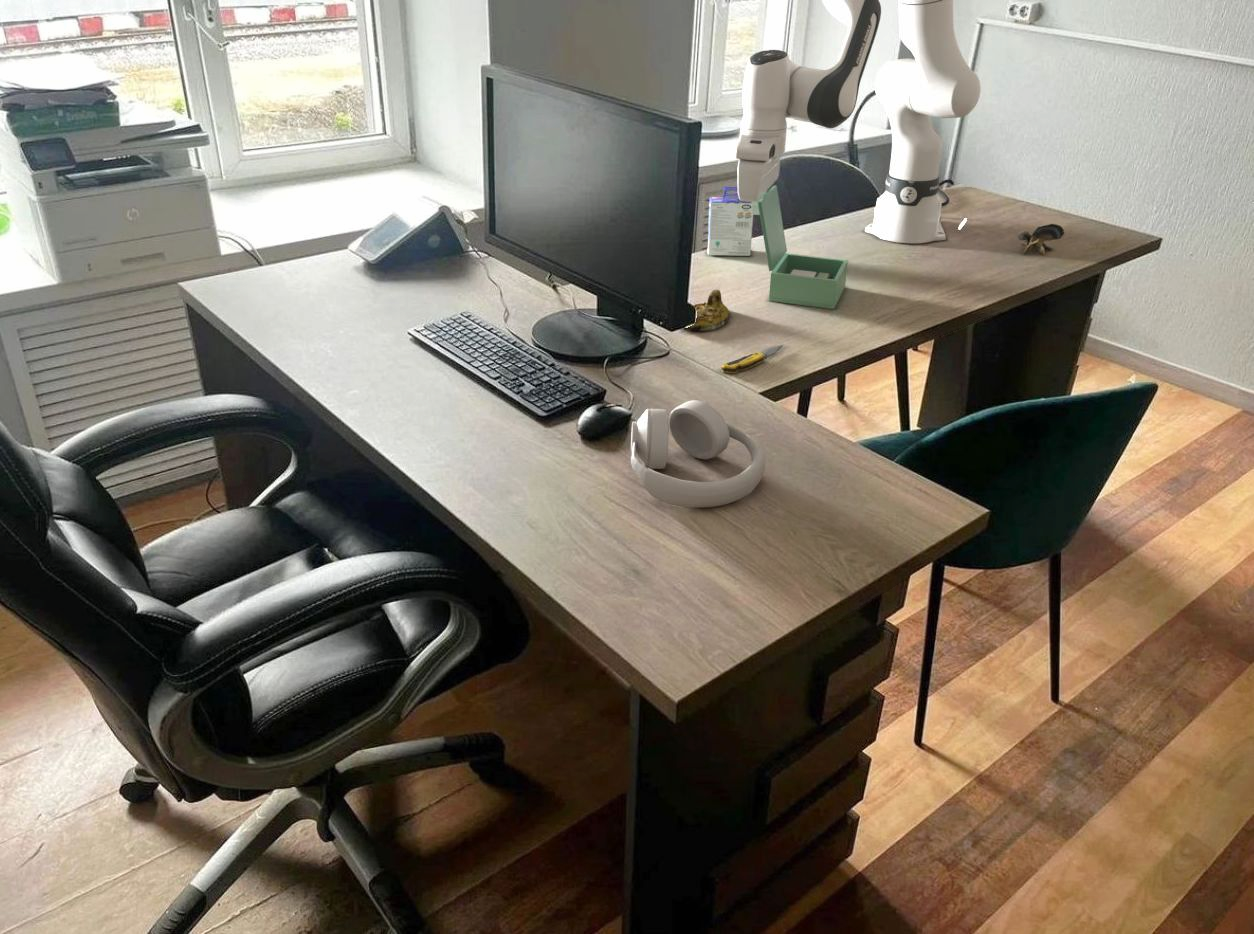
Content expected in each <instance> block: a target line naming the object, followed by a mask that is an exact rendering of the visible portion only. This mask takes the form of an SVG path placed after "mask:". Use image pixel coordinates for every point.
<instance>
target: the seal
mask: <svg viewBox="0 0 1254 934" xmlns="http://www.w3.org/2000/svg"><path fill="white" fill-rule="evenodd" d="M692 306H694V307H695V308H696V311H697V318H696V322H695V324H694V325H692V326H690V327H688V328H684V329H682V330H684V331H699V332H708V331H713V330H716V329H719V328H721V327H723V326H724V325H725V324H726V323H727V322H728V321H729V319H730V315H731V314H730V313H731V312H730V310H729V309H728V307H727V306H726V305H725V304H724V303H723V301H722V293H721V290H720V289H713V290H712V291H710V292H709V294H708V297H707V302H706V301H704V302H702V303H696V304H693V305H692Z"/></svg>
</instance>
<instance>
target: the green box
mask: <svg viewBox="0 0 1254 934" xmlns="http://www.w3.org/2000/svg"><path fill="white" fill-rule="evenodd" d="M848 264H849V260H848V259H841V258H839V259H838V258H831V257H821V256H812V255H805V254H797V253H796V254H795V253H788V252H786V253H785V254H784V256H783V257H782V259H781V260H780V261H779V263H778V264H777V265H776V267H775V268H774V270H773V271H770V279H769V290H768V291H769V292H768V302H774V303H775V302H776V303H783V304H791V305H796V306H797V305H799V306H805V307H814V308H822V309H830V310H834V309H835V308H836V306H837V303H838V302H839V300H840V298H841V297H842V294H843V292H844V290H845V289H846V283H847V275H848V274H847V273H848V267H849V265H848ZM791 269H795V270H803V271H812V272H820V273H829V274H832V279H826V278H817V277H809V276H801V275H792V274H788V273H789V271H790V270H791Z"/></svg>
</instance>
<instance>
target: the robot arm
mask: <svg viewBox="0 0 1254 934" xmlns="http://www.w3.org/2000/svg"><path fill="white" fill-rule="evenodd" d="M821 1H822V4H823V5H824V7H825V9H826V10H827V11H828V13H829V14H830V15H831V16H832V17H833V18H834V19H835V20H837V21H839V22H840V23H841V24H843V25H845V26H846V27H847V32H846V35H845V38H844V41H843V44H842V46H841V50H840V52H839V55H838V58H837V61H836V63H835V64H834V65H833V66H832V67H830V68H827V69H819V68H812V67H807V66H801V65H799V64H798V63H796V62H793V60H791V59H790V57H789V54H788V53H787V52H786V51H784V50H781V49H768V50H760V51H758V52H754V54H753V55H751V56H750V57H749V59H748V61H747V63H746V67H745V71H744V77H743V84H742V95H741V103H742V110H743V113H742V118H741V121H740V130H739V137H738V139H739V140H738V143H737V146H736V148H735V159H737V160H738V163H737V187H738V196H739V199H740V200H741V201H748V202H751V203H752V214H753V216H754V215H755V216H760V213H759V207H758V202H759V201H760V200H761V199H762V198H763V196H764V195H765V194H766V193H767V192H768V191H769V190H770V189H771V188H772V187H773V185H774V184H775V182H776V181H778V179H779V176H780V171H781V155H782V154H784V153H785V152H786V143H787V128H788V123H787V122H788V121H787V118H788V119H791V120H794V121H800V122H806V123H810V124H811V123H812V124H814V125H816V126H820V127H824V128H826V129H835V128H837V127H839V126H841V125H842V124H843V123H845V122H846V121H847V120H848V119H849V118H850V117H851V116H852V114H853V113H854V110H855V108H856V105H857V101H858V95H859V89H860V86H861V85H860V84H861V81H862V77H863V75H864V72H865V69H866V66H867V63H868V60H869V57H870V54H871V52H872V49H873V45H874V43H875V39H876V35H877V32H878V30H879V25H880V21H881V16H882V6H881V2H880V0H821ZM898 28H899V29H898V30H899V32H898V33H899V39H900V40H901V42H902V43H903V45H904V46H905V47H906V48H907V49H908V50H909V51H910V52H911V54H912V55H913V57H914V58H908V57H906V58H898V59H897V58H896V59H891V60H888V61H886V62H885V63H884V64H883V65H882V66H881V68H880V69H879V70H878V72H877V74H876V77H875V81H874V91H875V95H876V98H877V99H878V101H879V102H880V103H881V104H882V106H883V107H884V109H885V113H886V115H887V118H888V120H889V125H890V131H891V141H892V142H891V154H890V156H891V157H890V164H889V172H888V173H887V175H886V179H885V187H884V189H885V190H884V192H883V194H881V195H880V196H879V197H877V199H876V204H875V207H874V211H873V213H874V215H873V216H874V217H873V221H872V222H871V223H869V224H868V225H866V226H865V228H864V232H865V233H868V234H870V235H873V236H875V237H877V238H879V239H881V240H884V241H888V242H891V243H892V242H893V243H899V244H926V243H930V242H935V241H937V242H938V241H945V240H946V237H947V236H946V233H945V231H944V228H943V226H942V224H941V221H942V217H941V211H942V207H945V206H946V205H948V204H949V203H950V197H949V196H948V195H947V194H946V192H945V191H943V190H942V189H940V187H941V186H943V185H945V184H947V183H948V184H950V185H951V186H955V182H954V181H953V180H952V179H944V180H942V181H940V177H939V173H940V166H941V159H942V153H943V141H942V138H941V137H940V136H939V135H938V134H937V132H936V131H935V130H934V128H933V126H932V123H931V120H930V117H933V118H934V117H935V118H939V119H957V118H964V117H966V116H968V115H969V114H970V113H972V112H973V110H974V109H975V107H977V105H978V103H979V100H980V96H981V92H982V91H981V89H982V87H981V81H980V77H979V76H978V75H977V73H976V72H974V71H973V70H972V68H971V67H970V66H969V65H968V64H967V63H968V62H966V60H965V59H964V57H963V55H962V52H961V49H960V47H959V44H958V41H957V38H956V34H955V33H956V32H955V26H954V0H898ZM938 193H939V194H940V195H941V196H942V198H944V202H941V201H940V200H939V198H938V197H937V194H938ZM967 219H968V218H966V217H965V218H964V219H963V221H962V222H961V223H959V226H958V230H961V229H962V228H963V226H964V225H965V224H966V222H967Z"/></svg>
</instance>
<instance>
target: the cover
mask: <svg viewBox="0 0 1254 934" xmlns="http://www.w3.org/2000/svg"><path fill="white" fill-rule="evenodd" d="M758 207H759V213H760V215H759V218H760V219H759V220H760V224H761V225H760V226H761V230H762V236H763V242H764V248H765V256H766V260H767V266H768V271H769V272H772V271H773V270H774V268H775V267H776V265H777V264H778V263H779V261H780V260H781V259H782V257H783V256H784V254H785V253H788V248H787V243H786V237H785V230H784V224H783V217H782V211H781V205H780V197H779V192H778V186H777V185H772V186H771V187H770V188H769V189H768V190H767V193H766V194H765V195H764V196H763V198H762V199H761V200H760V201H759V202H758Z"/></svg>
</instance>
